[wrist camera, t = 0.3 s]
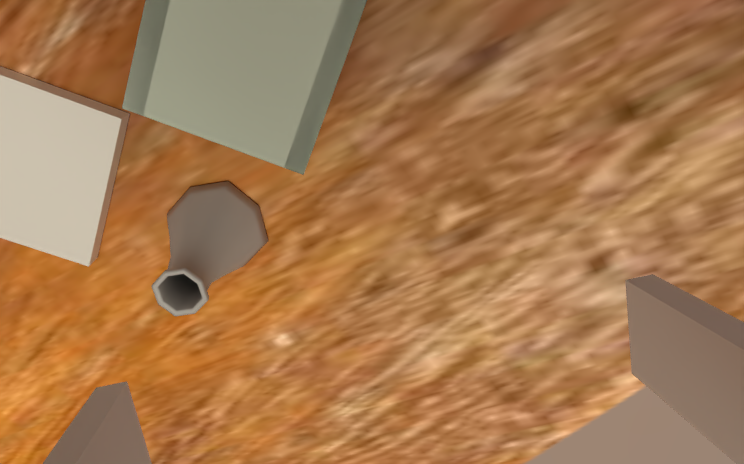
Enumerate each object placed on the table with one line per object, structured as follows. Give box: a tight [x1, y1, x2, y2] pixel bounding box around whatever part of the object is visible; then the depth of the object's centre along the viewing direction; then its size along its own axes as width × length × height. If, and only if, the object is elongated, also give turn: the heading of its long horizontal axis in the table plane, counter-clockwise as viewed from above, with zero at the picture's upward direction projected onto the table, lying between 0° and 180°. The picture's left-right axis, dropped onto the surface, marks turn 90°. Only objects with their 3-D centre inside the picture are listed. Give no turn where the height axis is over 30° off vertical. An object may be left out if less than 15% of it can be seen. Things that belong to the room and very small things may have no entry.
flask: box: [152, 181, 268, 316], centre depth 40 cm, size 7×7×10 cm
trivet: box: [0, 66, 130, 266], centre depth 42 cm, size 12×12×2 cm
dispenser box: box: [122, 0, 367, 175], centre depth 33 cm, size 10×9×13 cm
